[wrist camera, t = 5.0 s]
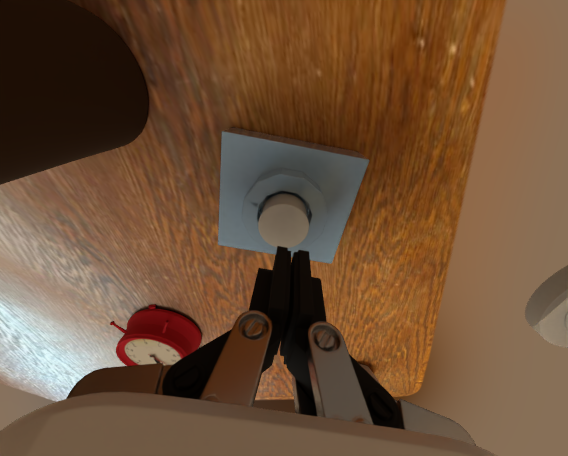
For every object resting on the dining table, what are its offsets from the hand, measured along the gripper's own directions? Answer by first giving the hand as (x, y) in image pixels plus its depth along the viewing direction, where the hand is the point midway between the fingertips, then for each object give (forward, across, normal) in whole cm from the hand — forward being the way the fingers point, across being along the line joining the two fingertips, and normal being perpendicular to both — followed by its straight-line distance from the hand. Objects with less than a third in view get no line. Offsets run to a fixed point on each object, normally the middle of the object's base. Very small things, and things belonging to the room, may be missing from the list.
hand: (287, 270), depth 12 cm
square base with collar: (+11, +1, 0) cm, 11 cm away
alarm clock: (+11, +14, +26) cm, 31 cm away
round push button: (+6, +1, 0) cm, 6 cm away
